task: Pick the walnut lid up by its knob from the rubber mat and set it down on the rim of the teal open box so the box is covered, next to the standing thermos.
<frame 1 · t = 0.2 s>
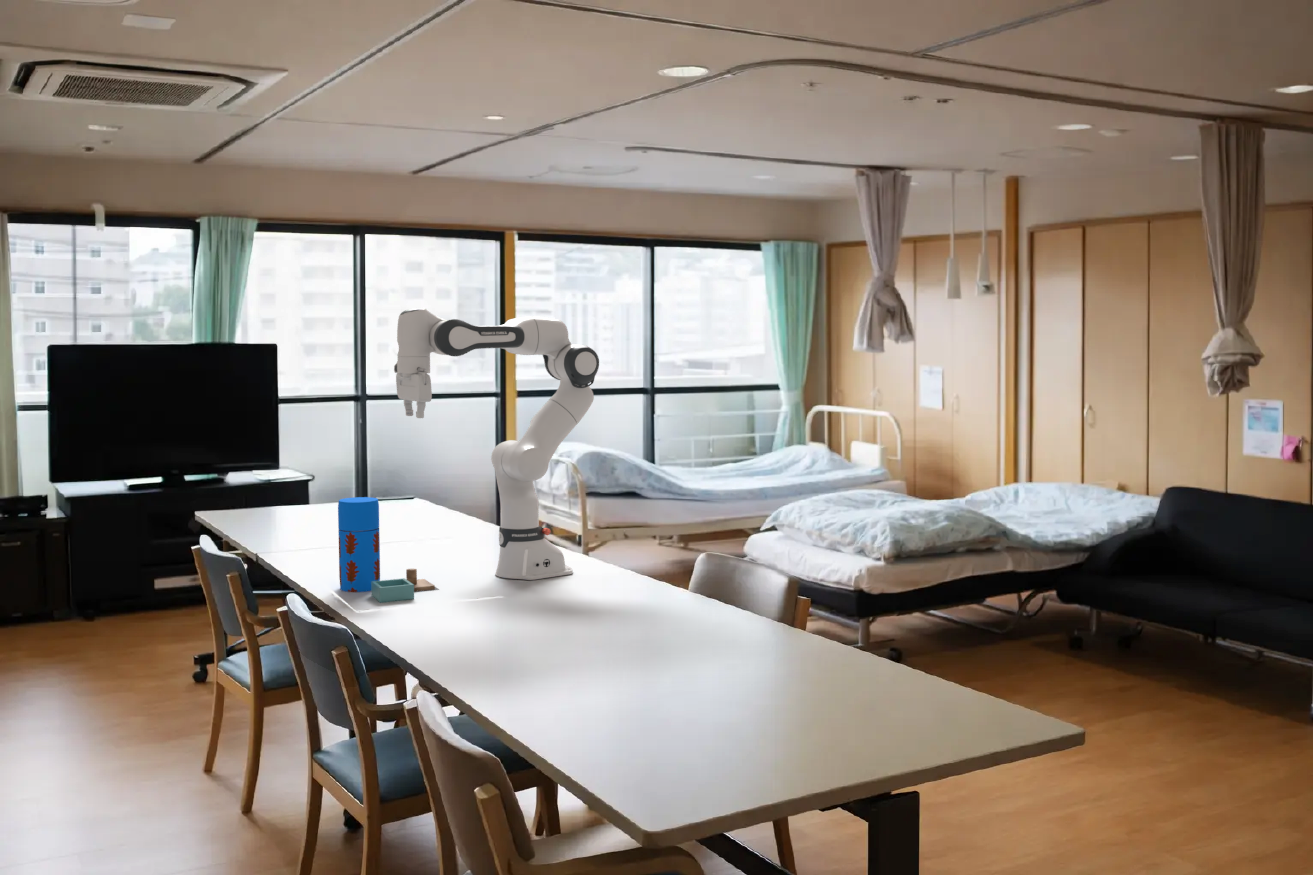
hand: (414, 417, 332), 47 cm above the table, fingers open, 8 cm apart
lid: (411, 587, 329), point 1 cm above the table, touching mat
mat: (411, 589, 329), on the table
thermos: (360, 590, 329), on the table
teal open box: (392, 599, 317), on the table
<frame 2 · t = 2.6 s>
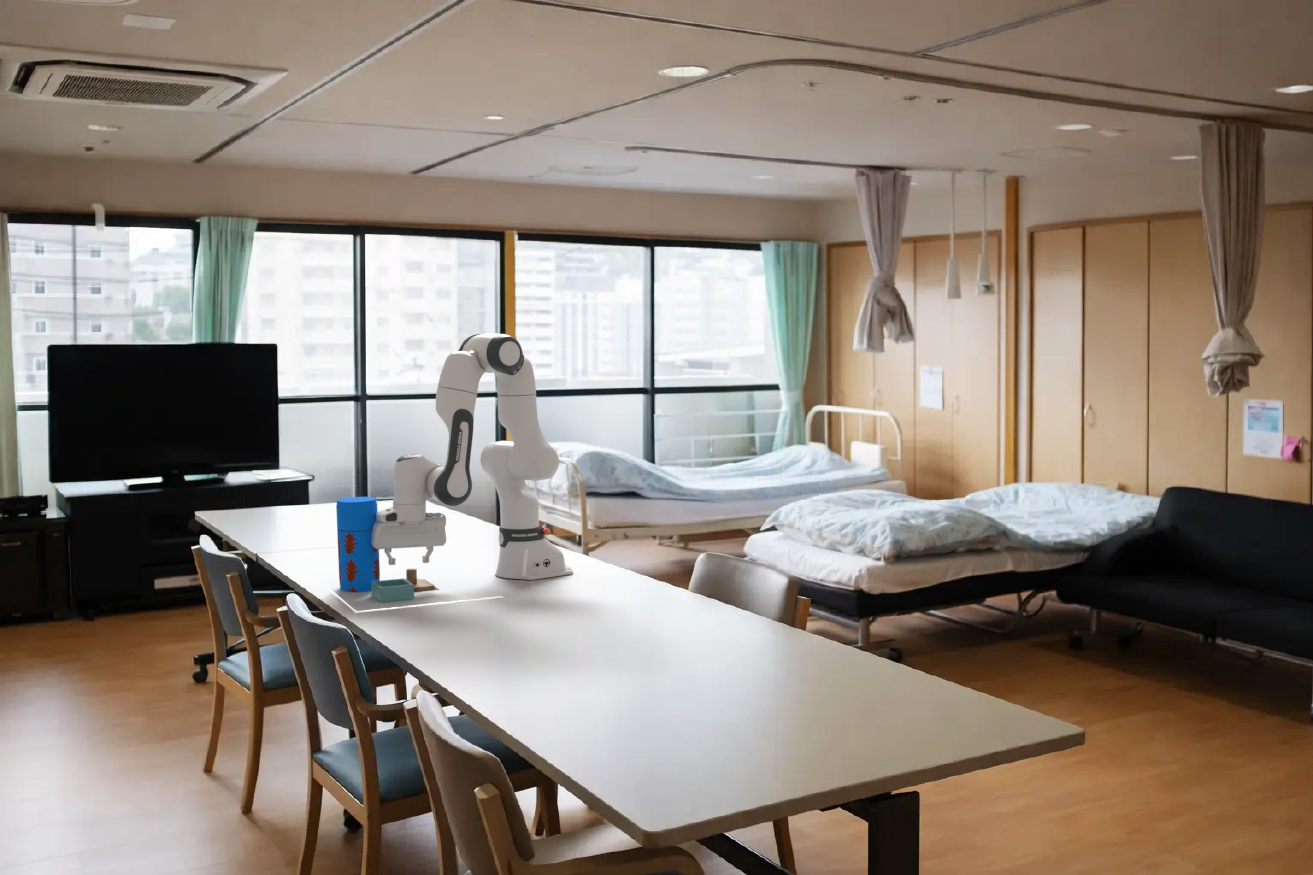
hand: (408, 563, 328), 7 cm above the table, fingers open, 8 cm apart
thermos: (360, 590, 329), on the table, touching arm
everything else where it was.
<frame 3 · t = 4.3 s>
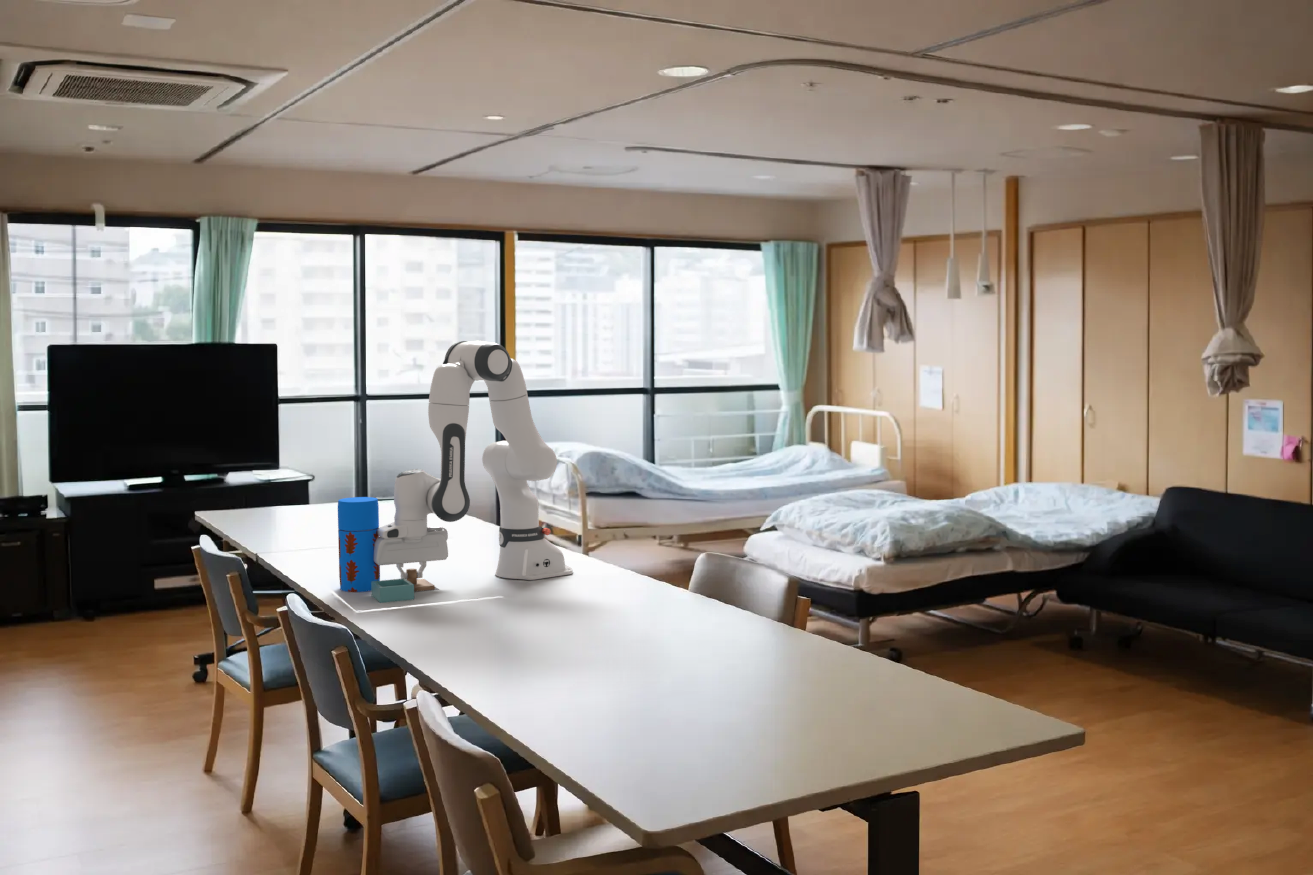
hand: (411, 578, 329), 3 cm above the table, fingers closed on lid, 3 cm apart
lid: (411, 587, 329), point 1 cm above the table, touching gripper, mat
everything else where it was.
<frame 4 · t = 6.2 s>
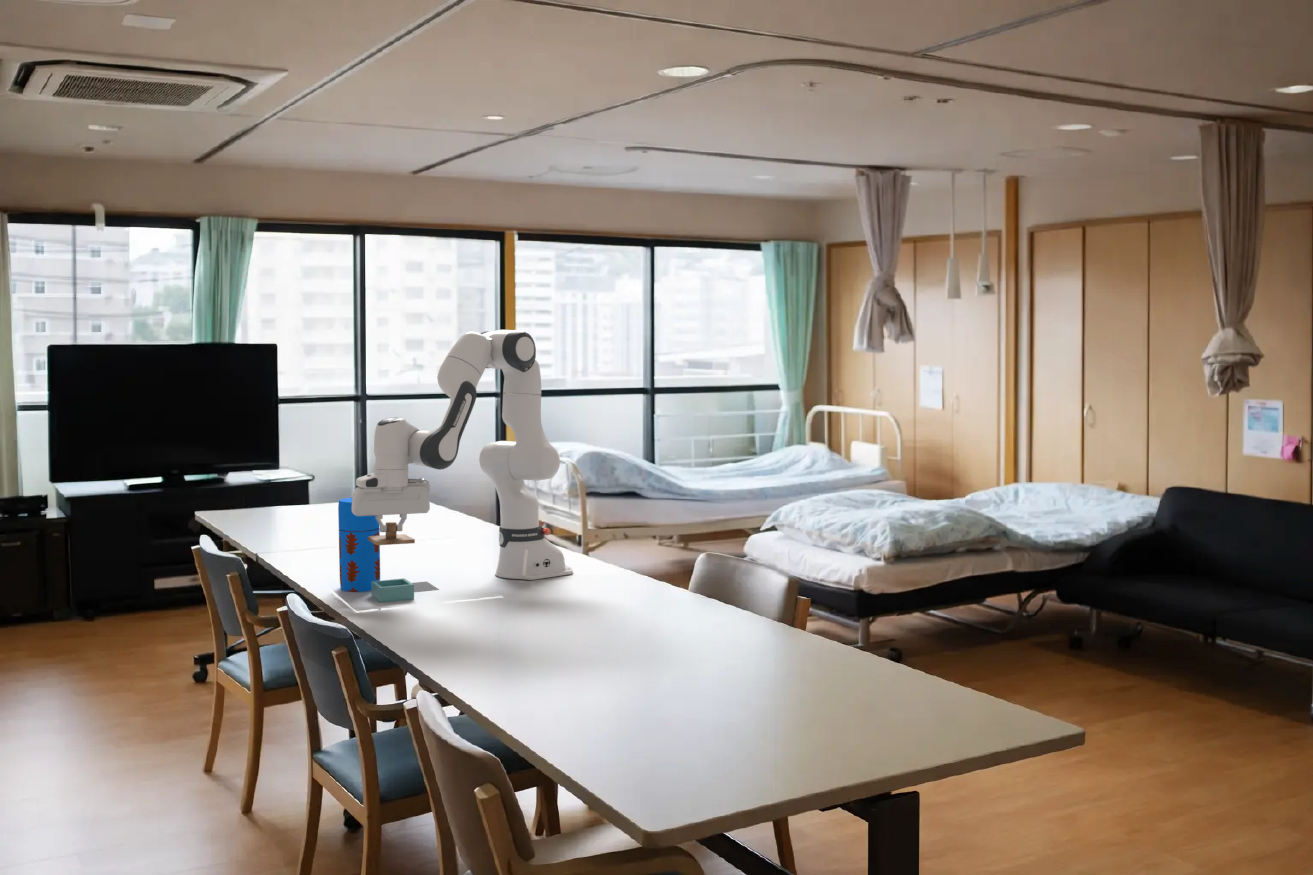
hand: (391, 531, 316), 18 cm above the table, fingers closed on lid, 3 cm apart
lid: (391, 541, 316), point 15 cm above the table, touching gripper
thermos: (360, 590, 329), on the table
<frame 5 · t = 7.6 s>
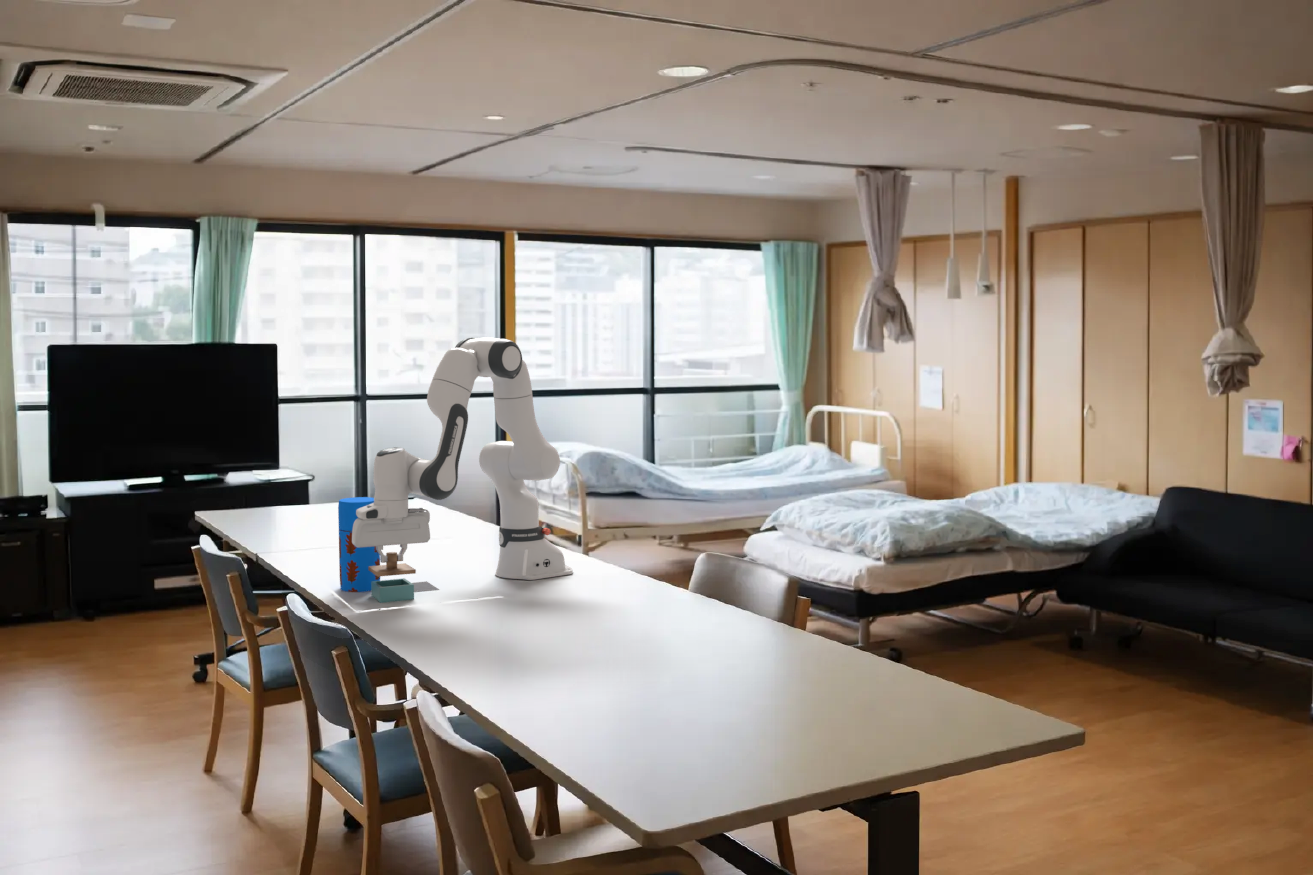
hand: (391, 561, 316), 10 cm above the table, fingers closed on lid, 3 cm apart
lid: (391, 571, 316), point 8 cm above the table, touching gripper
everything else where it was.
when the fingers open (8 cm above the table, at t = 8.6 s): lid stays where it is, resting on teal open box.
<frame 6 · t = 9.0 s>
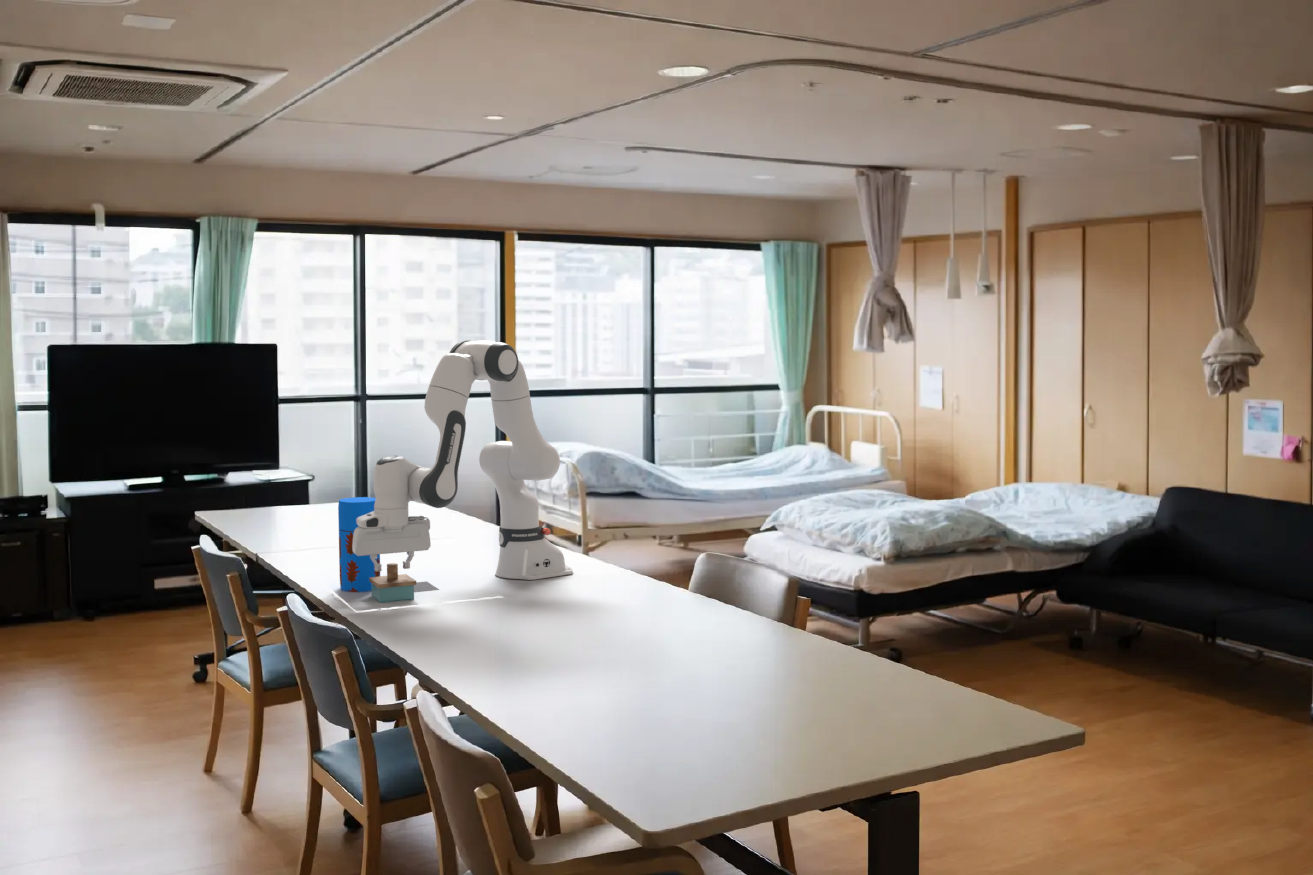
hand: (392, 569, 316), 8 cm above the table, fingers open, 6 cm apart
lid: (392, 582, 316), point 4 cm above the table, touching teal open box
everything else where it was.
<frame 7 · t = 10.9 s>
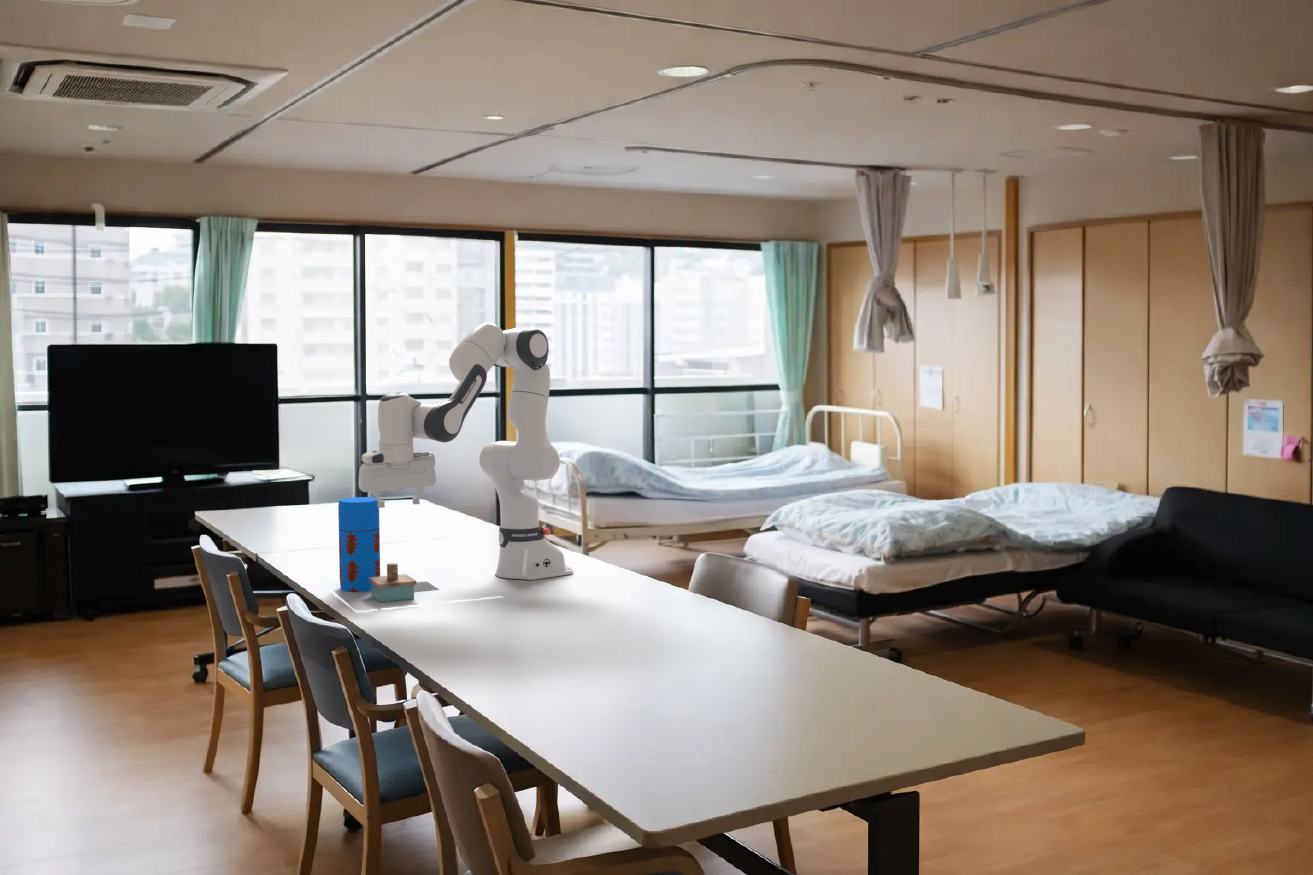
hand: (398, 505, 318), 25 cm above the table, fingers open, 8 cm apart
nothing on the table moved.
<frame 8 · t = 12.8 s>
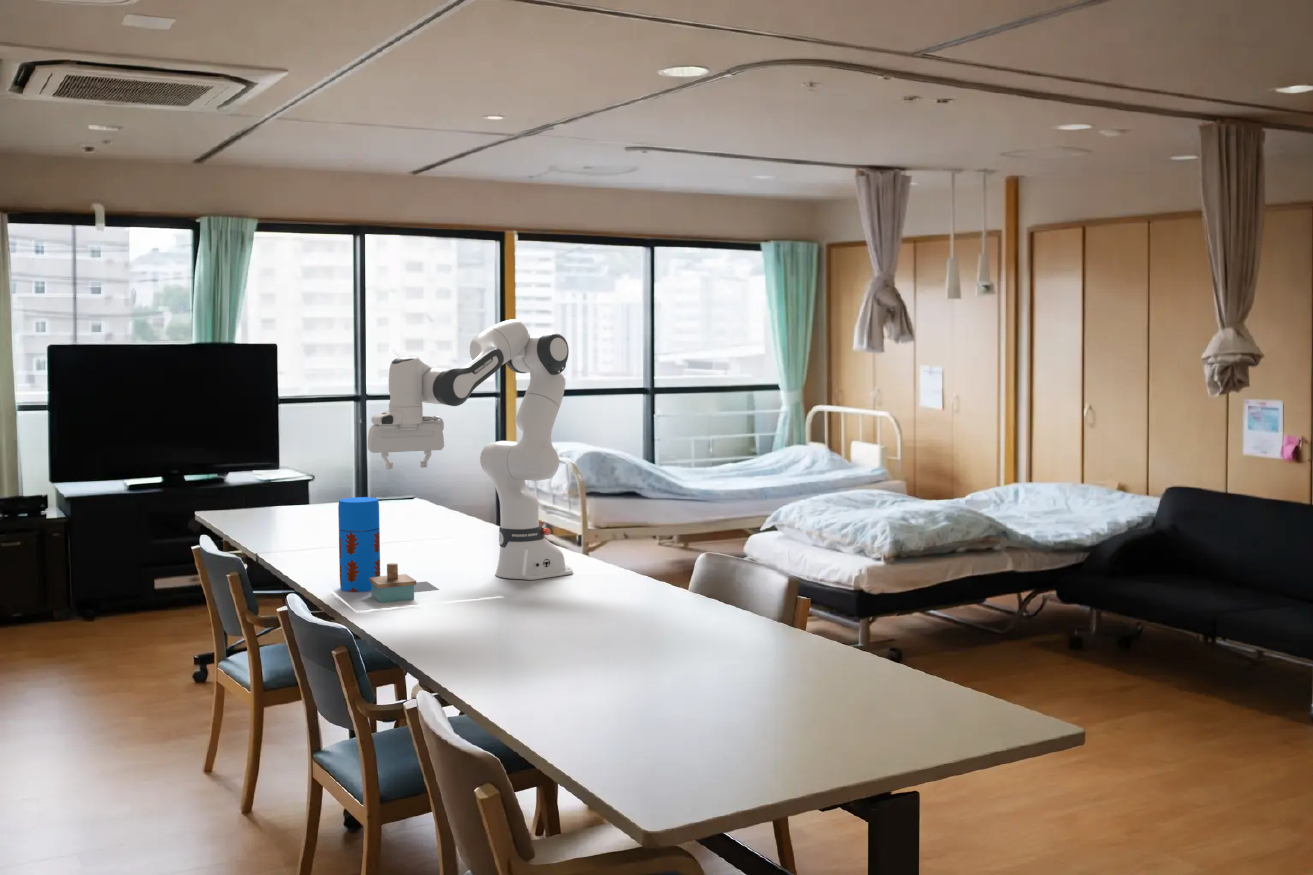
hand: (406, 468, 322), 34 cm above the table, fingers open, 8 cm apart
nothing on the table moved.
at the end: lid 0.1 cm from the teal open box (horizontally); lid point 4.5 cm above the table; the gripper is holding nothing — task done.
